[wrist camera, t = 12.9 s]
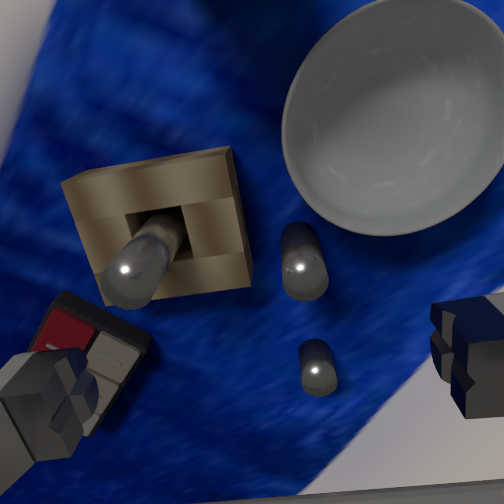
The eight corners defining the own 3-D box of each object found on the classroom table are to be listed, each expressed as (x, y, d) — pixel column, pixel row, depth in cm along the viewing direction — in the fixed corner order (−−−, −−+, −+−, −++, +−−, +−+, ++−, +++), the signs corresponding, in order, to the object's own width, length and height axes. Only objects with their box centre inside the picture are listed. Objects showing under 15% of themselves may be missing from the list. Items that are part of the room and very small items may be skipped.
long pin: (187, 198, 38) (145, 257, 25) (195, 233, 39) (160, 305, 26) (151, 204, 38) (92, 265, 25) (161, 238, 40) (109, 312, 27)
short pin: (328, 337, 44) (335, 366, 39) (331, 363, 45) (338, 394, 40) (296, 340, 44) (299, 370, 39) (300, 366, 45) (304, 398, 41)
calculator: (146, 353, 41) (87, 444, 46) (156, 331, 45) (101, 417, 50) (48, 303, 39) (-3, 403, 44) (68, 284, 43) (19, 378, 48)
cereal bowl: (421, -42, 30) (463, -77, 23) (506, 141, 35) (560, 155, 28) (241, 97, 34) (235, 101, 28) (340, 243, 39) (354, 275, 33)
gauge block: (230, 145, 36) (224, 154, 31) (252, 263, 40) (250, 286, 36) (86, 170, 37) (60, 182, 33) (123, 281, 42) (105, 306, 37)
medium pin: (316, 219, 38) (327, 258, 30) (318, 253, 40) (329, 299, 31) (279, 223, 39) (280, 263, 30) (282, 256, 40) (284, 302, 32)
